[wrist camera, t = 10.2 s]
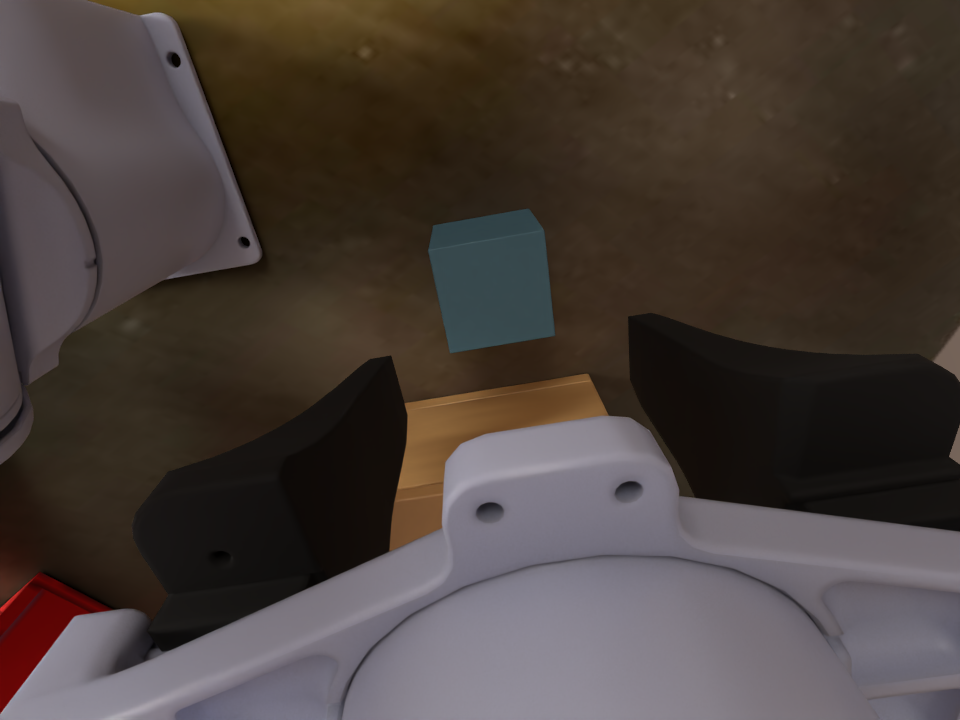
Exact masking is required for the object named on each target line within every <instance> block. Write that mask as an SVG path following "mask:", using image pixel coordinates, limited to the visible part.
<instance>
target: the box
mask: <svg viewBox="0 0 960 720" xmlns="http://www.w3.org/2000/svg"><path fill="white" fill-rule="evenodd" d="M404 404H405V407H406V411H407V414H408V421H407V443H406V448H405V453H404V458H403V463H402V468H401V473H400V478H399V483H398V488H397V490H402V489H408V488H415V487H422V486H428V485H435V484H442V483H444V473H445V462H446V461H447V459H448V458H449V457H450V456H451V455H452V453H453V452H454V451H455V450H456V449H457V447H458V446H459V445H460V444H461V443H464V442H466V441H469V440H471V439H474V438H476V437H479V436H481V435H484V434H488V433H494V432H501V431H507V430H513V429H520V428H526V427H533V426H539V425H545V424H552V423H558V422H565V421H571V420H577V419H584V418H590V417H597V416H609V415H608V413H607V411H606V409H605V407H604V405H603V403H602V401H601V399H600V397H599V395H598V393H597V391H596V389H595V387H594V385H593V382H592V381H591V379H590V376H589V374H581V375H575V376H569V377H563V378H557V379H550V380H544V381H538V382H532V383H526V384H520V385H514V386H507V387H501V388H495V389H489V390H483V391H477V392H471V393H464V394H458V395H452V396H446V397H440V398H434V399H428V400H421V401H415V402H409V403H404Z"/></svg>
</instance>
